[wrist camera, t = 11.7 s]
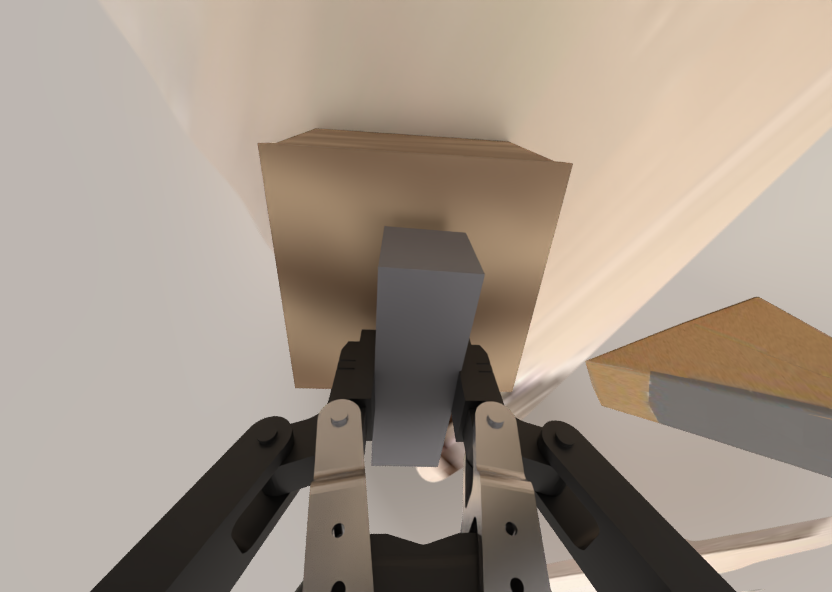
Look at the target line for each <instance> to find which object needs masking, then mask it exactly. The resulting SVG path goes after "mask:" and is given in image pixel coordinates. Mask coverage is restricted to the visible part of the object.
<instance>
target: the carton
mask: <svg viewBox="0 0 832 592" xmlns="http://www.w3.org/2000/svg"><path fill="white" fill-rule="evenodd" d="M277 144H292V145H308V146H323V147H339V148H354V149H369V150H385V151H400V152H416V153H431V154H446V155H462V156H477V157H493V158H508V159H523V160H539V161H552V160H550V159H548V158H545V157H543V156H541V155H538V154H536V153H534V152H531V151H529V150H527V149H525V148H522V147H520V146H518V145H515V144H513V143H511V142H506V141H491V140H476V139H462V138H447V137H432V136H418V135H403V134H389V133H374V132H359V131H345V130H330V129H313V130H310V131H307V132H305V133H302V134H299V135H297V136H294V137H291V138H288V139H286V140H283V141H280V142H277Z"/></svg>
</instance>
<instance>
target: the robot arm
mask: <svg viewBox="0 0 832 592" xmlns="http://www.w3.org/2000/svg"><path fill="white" fill-rule="evenodd" d="M375 343H376V330H371V329H362V331H361V336H360V341H348V342H347V344H346V345H345V346H344V347H343V348H342V349H341V353H340V357H339V361H338V365H337V370H336V373H335V377H334V381H333V385H332V389H331V393H330V397H329V401H328V403H327V405H325V407H323V409H322V410H321V411H320V413H319V414H317V415H315V416H314V417H312V418H309V419H307V420H303V421H299V422H296V423H292V424H290V423H289V421H288V420H286V419H285V418H283V417H278V416H273V417H268V418H264V419H262V420H260V421H258V422H256V423H255V424H254V425H252V426H251V427H250V428H249V429H248V430H247V431H246V432H245V433H244V435H242V436H241V438H239V440H238V441H237V442H236V443H235V444H234V445H233V446H232V447H231V448H230V449H229V450H228V451H227V452H226V453H225V454H224V455H223V456H222V457H221V458H220V459H219V460H218V461H217V462H216V463H215V464H214V465H213V466H212V467H211V468H210V469H209V470H208V471H207V472H206V473H205V474H204V475H203V476H202V477H201V479H199V481H198V482H197V483H196V484H195V485H194V486H193V487H192V488H191V489H190V490H189V491H188V492H187V493H186V494H185V495H184V496H183V497H182V498H181V499H180V500H179V501H178V502H177V503H176V504H175V505H174V506H173V507H172V508H171V509H170V510H169V511H168V512H167V514H165V516H163V518H161V520H159V522H158V523H157V524H156V525H155V526H154V527H153V528H152V529H151V530H150V531H149V532H148V533H147V534H146V535H145V536H144V537H143V538H142V539H141V540H140V541H139V542H138V543H137V544H136V545H135V546H134V547H133V548H132V549H131V550H130V552H128V553H127V554H126V555H125V556H124V557H123V558H122V559H121V560H120V562H119V563H118V564H117V565H116V566H115V567H114V568H113V569H112V570H111V571H110V572H109V573H108V574H107V575H106V576H105V577H104V578H103V579H102V580H101V581H100V582H99V583H98V584H97V585H96V586H95V587H94V588H93V589H92V590H91V591H90V592H230V591H231V589H232V588H233V586H234V585H235V583H236V582H237V581H238V579H239V578H240V576H241V575H242V573H243V572H244V570H245V569H246V567H247V566H248V565H249V563H250V562H251V560H252V559H253V557H254V556H255V554H256V553H257V551H258V550H259V548H260V547H261V546H262V544H263V543H264V541H265V540H266V538H267V537H268V535H269V534H270V532H271V531H272V530H273V528H274V527H275V525H276V524H277V522H278V520H279V519H280V518H281V516H282V515H283V513H284V512H285V511H286V509H287V508H288V506H289V505H290V503H291V502H292V500H293V499H294V497H295V496H296V495H297V493H298V492H299V490H300V489H301V488H304V487H307V486H310V494H309V509H308V522H307V536H306V550H305V564H304V578H303V582H302V583H301V584H300V585H299V587H298V588H297V590H296V591H295V592H552V591H551V589H550V583H549V577H548V571H547V565H546V559H545V553H544V547H543V542H542V535H541V529H540V523H539V518H538V512H537V508H538V509H539V510H540V512H541V513H542V515H543V516H544V517H545V519H546V520H547V522H548V523H549V524H550V526H551V527H552V529H553V530H554V532H555V533H556V534H557V536H558V537H559V539H560V540H561V541H562V543H563V544H564V546H565V547H566V548H567V550H568V551H569V553H570V554H571V555H572V557H573V558H574V560H575V561H576V563H577V564H578V565H579V567H580V568H581V570H582V571H583V573H584V574H585V575H586V577H587V578H588V580H589V581H590V582H591V584H592V585H593V587H594V588H595V589H596V591H597V592H736V591H735V590H734V589H733V588H732V587H731V586H730V585H729V584H728V583H727V582H726V581H725V580H724V579H723V578H722V577H721V576H720V575H719V574H718V573H717V572H716V571H715V570H714V568H713V567H712V566H711V565H710V564H709V563H708V562H707V561H706V560H705V559H704V558H703V557H702V556H701V555H700V554H699V553H698V552H697V551H696V550H695V549H694V548H693V547H692V546H691V545H690V544H689V543H688V542H687V541H686V540H685V539H684V538H683V537H682V536H681V535H680V534H679V533H678V532H677V531H676V530H675V529H674V528H673V527H672V526H671V525H670V524H669V523H668V522H667V521H666V520H665V519H664V518H663V517H662V516H661V515H660V514H659V513H658V512H657V511H656V510H655V509H654V508H653V506H652V505H651V504H650V503H649V502H648V501H647V500H645V498H644V497H643V496H642V495H641V494H640V493H639V492H638V491H637V490H636V489H635V488H634V487H633V486H632V485H631V484H630V483H629V482H628V481H627V480H626V479H625V478H624V477H623V476H622V475H621V474H620V473H619V472H618V471H617V470H616V469H615V468H614V467H613V466H612V465H611V464H610V463H609V462H608V461H607V460H606V459H605V458H604V457H603V456H602V455H601V454H600V453H599V452H598V451H597V450H596V449H595V448H594V447H593V446H592V445H591V443H590V442H588V440H587V439H586V438H585V437H584V436H583V435H582V434H581V433H580V432H579V431H578V430H577V429H575V428H574V427H572V426H571V425H569V424H567V423H565V422H562V421H549V422H547V423H546V424H545V425H544V426H543V427H540V426H536V425H533V424H530V423H526V422H524V421H521V420H519V419H517V418H516V417H515V416H514V414H513V413H512V412H511V410H510V409H508V408H507V407H506V406H505V405H504V403H503V400H502V397H501V394H500V391H499V388H498V385H497V382H496V379H495V376H494V373H493V369H492V366H491V365H490V360H489V357H488V354H487V353H486V351H485V350H484V349H483V348H482V347H481V346H480V345H471V342H470V338H469V341H468V345H467V350H466V354H465V358H464V362H463V366H462V370H461V371H459V375H458V380H457V385H456V390H455V395H454V400H453V405H452V411H451V412H452V419H453V426H454V432H455V439H456V442H464V446H465V455H464V462H463V514H462V515H463V516H462V523H461V532H460V533H458V534H455V535H452V536H449V537H446V538H444V539H440V540H438V541H435V542H432V543H429V544H425V545H422V544H418V543H414V542H412V541H408V540H405V539H401V538H398V537H395V536H392V535H389V534H370V533H369V519H368V504H367V490H366V477H365V466H364V454H365V445H366V441H372V438H373V428H374V417H375Z"/></svg>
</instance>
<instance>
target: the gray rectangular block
mask: <svg viewBox="0 0 832 592" xmlns="http://www.w3.org/2000/svg"><path fill="white" fill-rule="evenodd" d="M484 276H485V273H484V271H483V269H482V267H481V265H480V262H479V260H478V258H477V256H476V254H475V251H474V249H473V247H472V245H471V243H470V241H469V238H468V236H467V234H466V233H464V232H452V231H439V230H427V229H415V228H402V227H390V226H384V232H383V238H382V245H381V251H380V257H379V264H378V283H377V313H376V343H375V417H374V428H373V438H372V466H417V467H438V464H439V460H440V455H441V451H442V447H443V443H444V439H445V435H446V431H447V427H448V423H449V419H450V415H451V411H452V405H453V400H454V395H455V390H456V385H457V380H458V375H459V371H461V370H462V366H463V362H464V358H465V354H466V350H467V345H468V341H469V337H470V333H471V329H472V325H473V321H474V317H475V313H476V309H477V305H478V301H479V297H480V293H481V288H482V284H483V280H484Z"/></svg>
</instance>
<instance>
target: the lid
mask: <svg viewBox="0 0 832 592" xmlns="http://www.w3.org/2000/svg"><path fill="white" fill-rule="evenodd" d="M258 149H259V156H260V162H261V169H262V175H263V182H264V188H265V195H266V201H267V208H268V214H269V221H270V227H271V234H272V240H273V247H274V253H275V259H276V266H277V273H278V279H279V286H280V291H281V298H282V305H283V311H284V318H285V325H286V331H287V338H288V344H289V351H290V357H291V364H292V370H293V376H294V383H295V388H316V389H332V385H333V381H334V377H335V373H336V370H337V365H338V361H339V357H340V353H341V349H342V348H343V347H344V346H345V345H346V344H347V342H348V341H360V336H361V331H362V329H371V330H376V313H377V283H378V264H379V257H380V251H381V245H382V238H383V232H384V226H390V227H402V228H415V229H427V230H439V231H452V232H464V233H466V234H467V236H468V238H469V241H470V243H471V245H472V247H473V249H474V251H475V254H476V256H477V258H478V260H479V262H480V265H481V267H482V269H483V271H484V273H485V276H484V280H483V284H482V288H481V293H480V297H479V301H478V305H477V309H476V313H475V317H474V321H473V325H472V329H471V333H470V337H469V338H470V342H471V345H480V346H481V347H482V348H483V349H484V350H485V351H486V353H487V354H488V357H489V360H490V365H491V366H492V369H493V373H494V376H495V379H496V382H497V385H498V388H499V391H500V392H512V390H513V386H514V383H515V379H516V375H517V371H518V368H519V364H520V360H521V356H522V353H523V349H524V345H525V341H526V338H527V334H528V330H529V326H530V323H531V319H532V315H533V311H534V308H535V304H536V300H537V296H538V293H539V289H540V285H541V281H542V278H543V274H544V270H545V266H546V263H547V259H548V255H549V251H550V248H551V244H552V240H553V236H554V233H555V229H556V225H557V221H558V218H559V214H560V210H561V206H562V203H563V199H564V195H565V191H566V188H567V184H568V180H569V176H570V173H571V169H572V165H573V164H572V163H565V162H554V161H539V160H523V159H508V158H493V157H477V156H462V155H446V154H431V153H416V152H400V151H385V150H369V149H354V148H339V147H323V146H308V145H292V144H277V143H258Z"/></svg>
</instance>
